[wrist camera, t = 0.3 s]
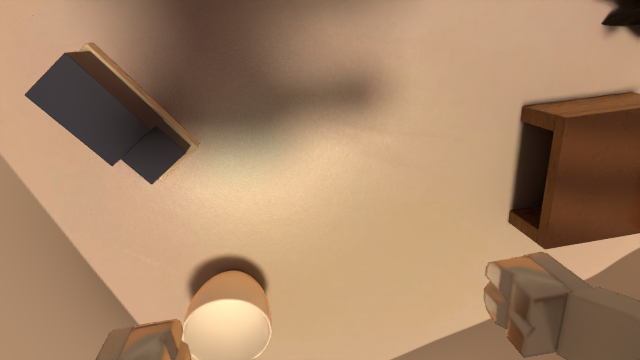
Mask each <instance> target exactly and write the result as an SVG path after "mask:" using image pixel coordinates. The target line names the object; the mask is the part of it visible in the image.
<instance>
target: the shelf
mask: <svg viewBox="0 0 640 360" xmlns="http://www.w3.org/2000/svg"><path fill="white" fill-rule="evenodd" d="M521 121H523V122H526V123H529V124H532V125H535V126H538V127H541V128H545V129H548V130H551V131H554V134H553V140H552V147H551V153H550V159H549V166H548V172H547V179H546V185H545V192H544V198H543V204H542V206H538V207H532V208H526V209H519V210H513V211H510V218H509V223H510V224H512V225H513V226H514V227H516V228H517V229H518V230H520V231H521V232H522V233H524V234H525V235H526V236H528V237H529V238H530V239H532V240H533V241H534V242H536V243H537V244H538V245H540V246H541V247H542V248H544V249H550V248H556V247H562V246H568V245H573V244H579V243H585V242H591V241H597V240H603V239H608V238H614V237H620V236H626V235H632V234H638V233H640V94H639V93H625V94H617V95H609V96H602V97H594V98H586V99H578V100H570V101H562V102H554V103H546V104H538V105H531V106H524V107H523V110H522V119H521Z"/></svg>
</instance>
